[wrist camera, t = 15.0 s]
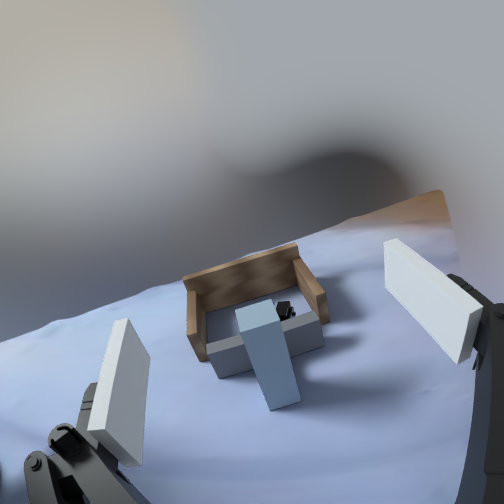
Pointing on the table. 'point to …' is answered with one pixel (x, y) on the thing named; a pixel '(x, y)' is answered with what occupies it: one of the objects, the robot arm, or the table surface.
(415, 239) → the table surface
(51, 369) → the table surface
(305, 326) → the block
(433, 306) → the robot arm
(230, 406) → the table surface
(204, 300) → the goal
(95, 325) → the table surface
